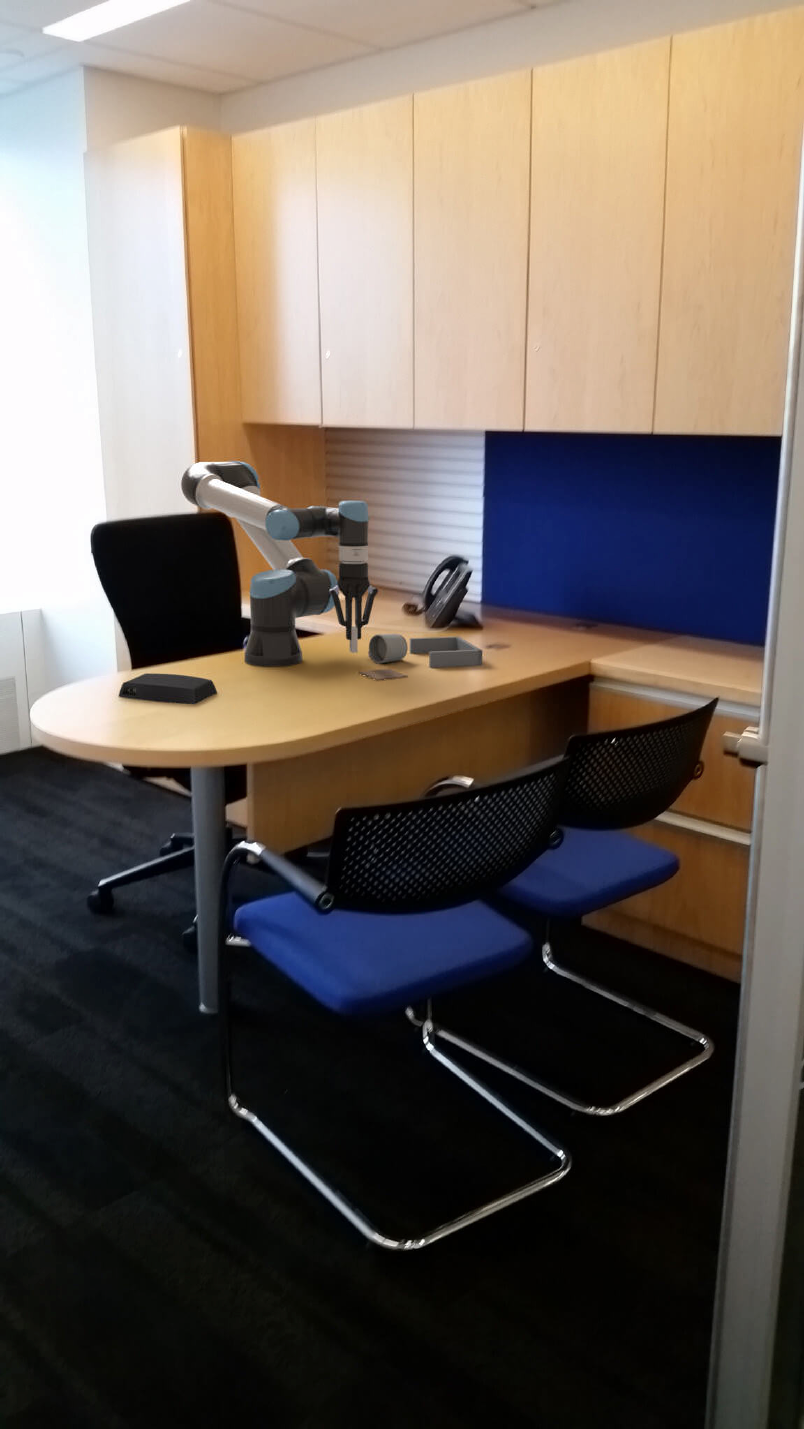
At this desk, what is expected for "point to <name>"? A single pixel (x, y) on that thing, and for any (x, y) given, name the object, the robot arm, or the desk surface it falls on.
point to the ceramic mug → (387, 648)
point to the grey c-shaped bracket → (447, 651)
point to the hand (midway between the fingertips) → (353, 651)
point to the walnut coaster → (383, 674)
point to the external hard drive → (168, 688)
